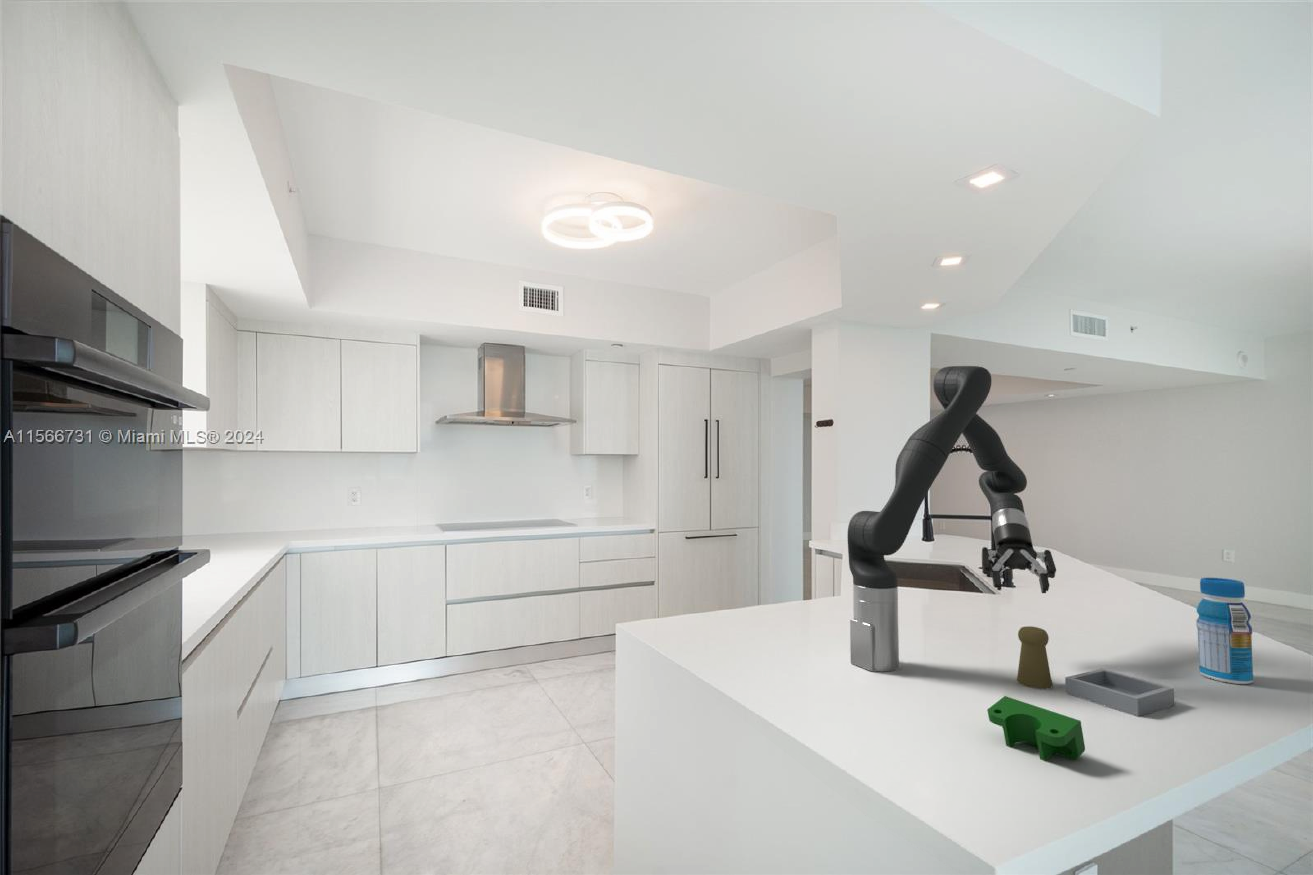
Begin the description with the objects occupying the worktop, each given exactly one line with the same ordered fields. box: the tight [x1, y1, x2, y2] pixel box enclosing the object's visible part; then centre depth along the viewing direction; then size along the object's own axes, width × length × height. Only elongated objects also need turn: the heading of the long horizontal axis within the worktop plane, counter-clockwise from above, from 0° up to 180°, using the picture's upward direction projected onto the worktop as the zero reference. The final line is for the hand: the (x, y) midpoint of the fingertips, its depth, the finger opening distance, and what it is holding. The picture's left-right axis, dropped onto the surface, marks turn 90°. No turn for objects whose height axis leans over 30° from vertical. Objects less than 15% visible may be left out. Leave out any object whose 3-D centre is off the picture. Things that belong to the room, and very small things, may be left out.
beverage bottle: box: [1195, 577, 1255, 685], centre depth 125 cm, size 8×8×20 cm
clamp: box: [987, 695, 1086, 762], centre depth 92 cm, size 12×6×9 cm, turn 24°
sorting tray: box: [1064, 668, 1176, 717], centre depth 113 cm, size 12×12×3 cm
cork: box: [1016, 625, 1053, 690], centre depth 121 cm, size 6×6×11 cm
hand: (1021, 589), depth 133 cm, fingers open, 8 cm apart
